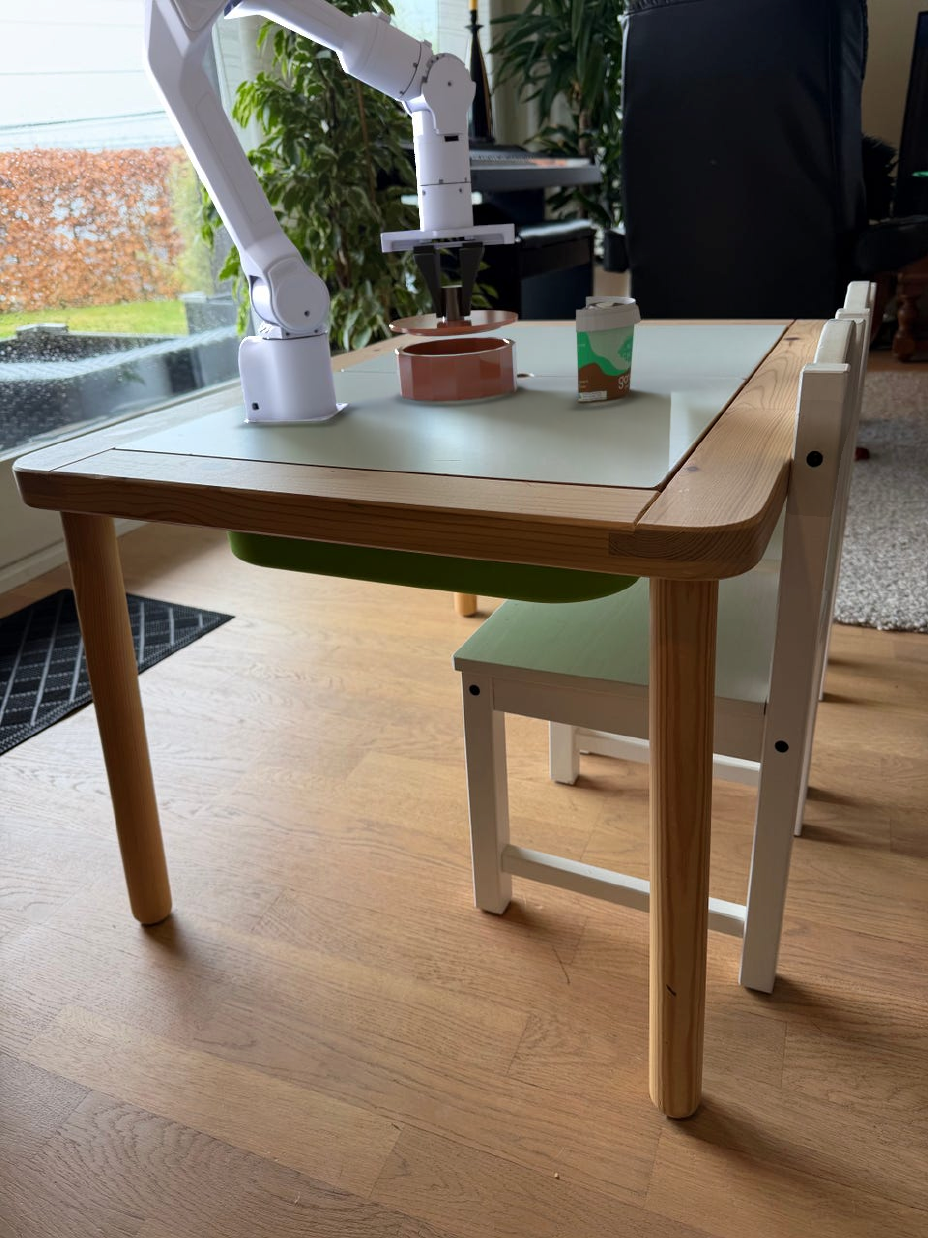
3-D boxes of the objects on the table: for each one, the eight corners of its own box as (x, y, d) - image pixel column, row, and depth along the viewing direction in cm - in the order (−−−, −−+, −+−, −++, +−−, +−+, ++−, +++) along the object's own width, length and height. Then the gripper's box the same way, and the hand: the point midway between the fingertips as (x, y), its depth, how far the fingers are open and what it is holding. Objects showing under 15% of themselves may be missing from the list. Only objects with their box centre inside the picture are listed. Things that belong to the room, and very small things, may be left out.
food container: (638, 410, 96) (638, 307, 92) (577, 411, 98) (575, 310, 94) (642, 385, 107) (643, 293, 103) (587, 387, 109) (586, 296, 104)
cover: (380, 342, 102) (375, 297, 100) (401, 323, 115) (397, 284, 113) (515, 334, 100) (513, 288, 98) (521, 317, 114) (519, 276, 112)
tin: (386, 407, 106) (382, 358, 104) (416, 383, 118) (412, 339, 116) (506, 404, 103) (504, 353, 101) (524, 380, 115) (522, 334, 113)
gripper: (371, 189, 99) (384, 324, 104) (509, 178, 97) (515, 316, 103) (382, 189, 105) (394, 316, 111) (513, 179, 103) (518, 308, 109)
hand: (453, 316), depth 107 cm, fingers closed on cover, 2 cm apart
